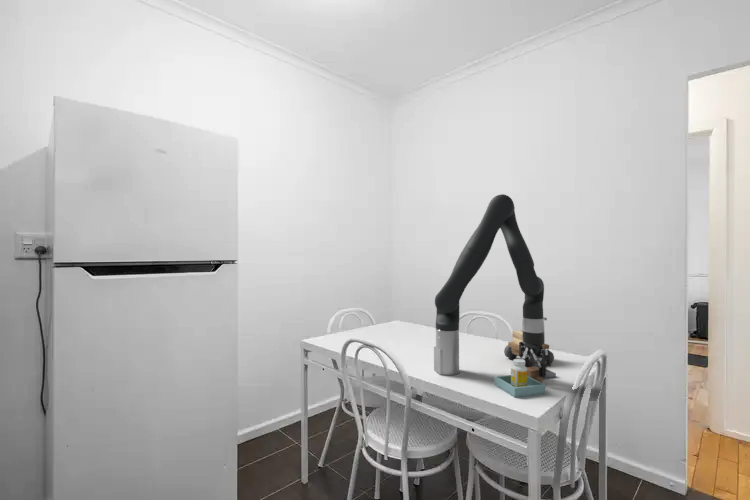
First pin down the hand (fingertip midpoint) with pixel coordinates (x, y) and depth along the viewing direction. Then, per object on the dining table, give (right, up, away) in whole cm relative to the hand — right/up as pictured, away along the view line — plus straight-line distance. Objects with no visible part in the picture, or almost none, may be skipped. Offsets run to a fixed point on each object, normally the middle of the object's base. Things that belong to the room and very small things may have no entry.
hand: (534, 373), depth 139 cm
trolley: (+8, -3, +25) cm, 26 cm away
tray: (-8, -3, -7) cm, 12 cm away
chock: (0, -3, 0) cm, 3 cm away
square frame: (+5, -3, +8) cm, 10 cm away
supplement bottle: (-8, -3, -7) cm, 12 cm away
